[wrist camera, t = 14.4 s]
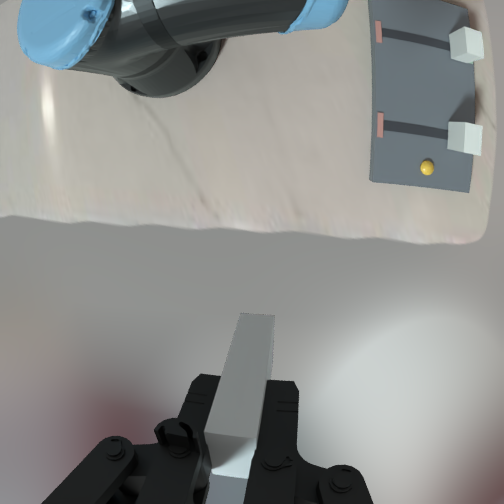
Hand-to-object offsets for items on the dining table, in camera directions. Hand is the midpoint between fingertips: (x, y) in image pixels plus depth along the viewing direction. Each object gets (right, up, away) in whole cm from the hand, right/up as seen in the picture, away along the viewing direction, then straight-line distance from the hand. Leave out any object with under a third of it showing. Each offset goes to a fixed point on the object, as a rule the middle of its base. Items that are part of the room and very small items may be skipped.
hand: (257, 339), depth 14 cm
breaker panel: (+21, +25, +18) cm, 37 cm away
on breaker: (+25, +29, +13) cm, 41 cm away
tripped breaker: (+25, +18, +18) cm, 35 cm away
